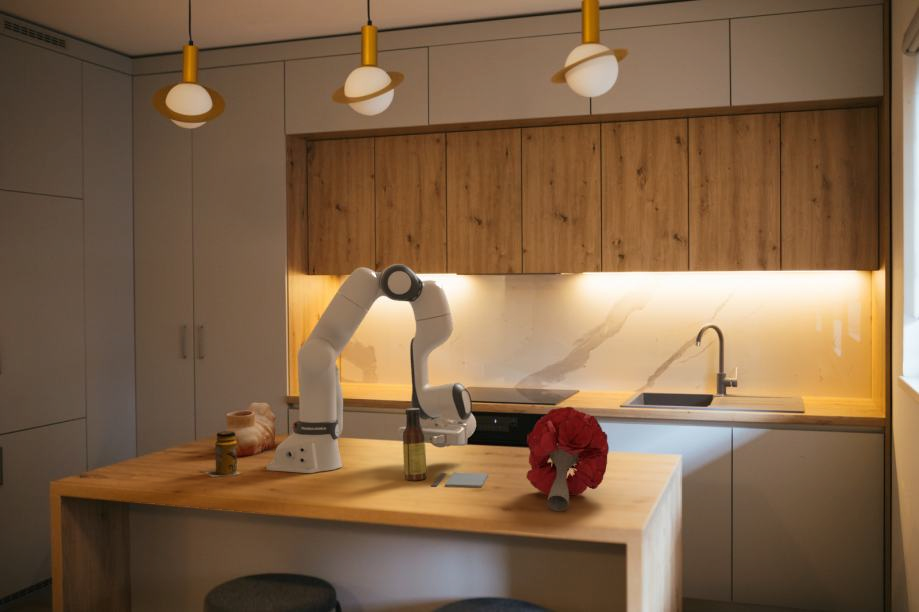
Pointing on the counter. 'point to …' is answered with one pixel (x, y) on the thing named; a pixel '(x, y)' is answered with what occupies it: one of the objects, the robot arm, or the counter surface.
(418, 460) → the sauce bottle
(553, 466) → the bouquet
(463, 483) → the mat
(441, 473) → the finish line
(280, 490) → the counter surface
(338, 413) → the glass bottle
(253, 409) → the ceramic vessel
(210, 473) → the condiment
